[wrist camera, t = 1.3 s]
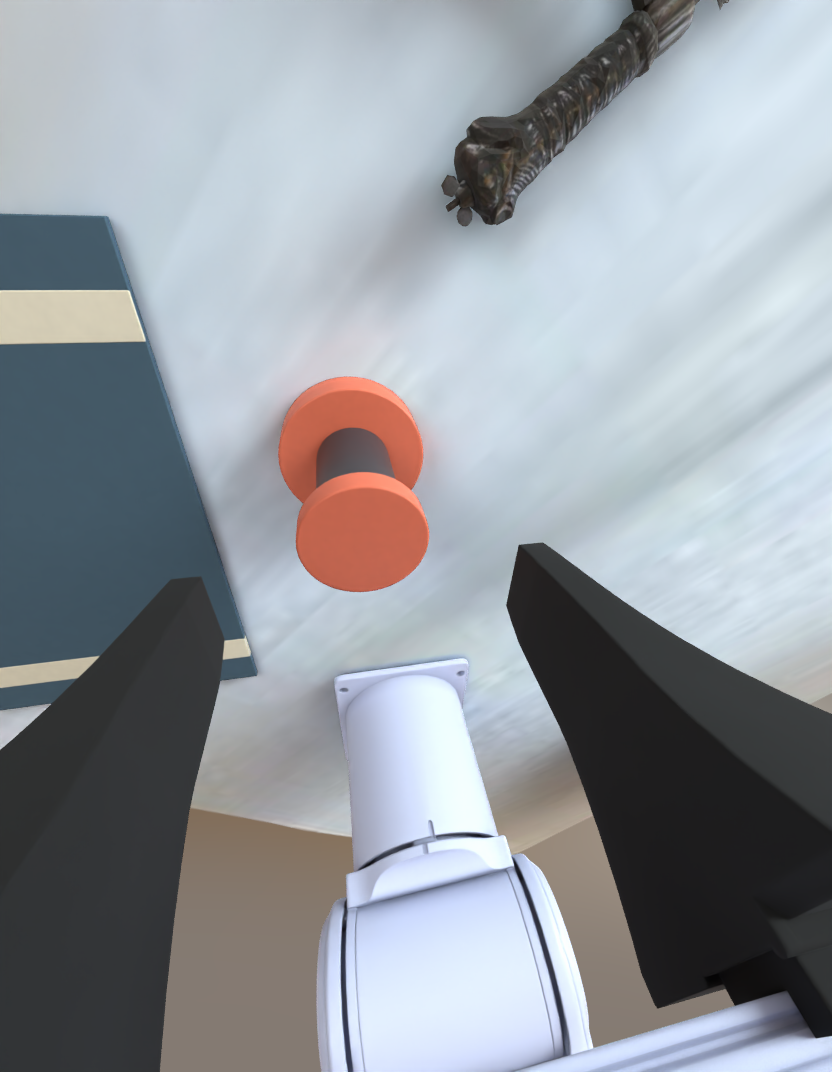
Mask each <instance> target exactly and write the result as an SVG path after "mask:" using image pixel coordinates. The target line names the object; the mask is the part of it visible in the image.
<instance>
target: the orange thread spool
mask: <svg viewBox="0 0 832 1072" xmlns="http://www.w3.org/2000/svg"><path fill="white" fill-rule="evenodd" d="M278 457H279V465H280V469H281V473H282V475H283V478H284V480H285V482H286V484H287V485H288V487H289V489H290V490H291V491H292V493H293V494H294V495H295V496H296V497H297V498H298V499H299V500H300V501H301V502H302V503H304V504H303V505H302V507H301V510H300V512H299V515H298V520H297V531H296V549H297V553H298V556H299V558H300V561H301V563H302V564H303V566H304V567H305V569H306V570H307V571H308V572H309V573H310V574H311V575H312V576H313V577H314V578H316V579H317V580H318V581H320V582H322V583H323V584H325V585H327V586H330V587H332V588H335V589H339V590H343V591H350V592H368V591H374V590H378V589H382V588H385V587H388V586H391V585H393V584H395V583H397V582H399V581H400V580H402V579H404V578H405V577H406V576H408V575H409V574H410V573H411V572H412V571H413V570H414V569H415V568H416V567H417V566H418V565H419V563H420V562H421V560H422V559H423V557H424V555H425V552H426V550H427V546H428V541H429V528H428V523H427V520H426V518H425V515H424V512H423V509H422V506H421V504H420V502H419V500H418V498H417V497H416V496H415V494H414V493H413V492H412V491H411V490H412V488H413V487H414V485H415V483H416V481H417V479H418V477H419V474H420V471H421V467H422V462H423V446H422V440H421V437H420V434H419V431H418V429H417V426H416V424H415V422H414V420H413V418H412V416H411V414H410V412H409V410H408V408H407V407H406V405H405V404H404V403H403V401H402V400H401V399H400V398H399V397H398V396H397V395H396V394H394V393H393V392H392V391H391V390H389V389H388V388H386V387H385V386H383V385H381V384H379V383H377V382H374V381H371V380H368V379H364V378H358V377H338V378H333V379H329V380H325V381H323V382H320V383H318V384H316V385H314V386H312V387H310V388H309V389H308V390H306V391H305V392H304V393H302V394H301V395H300V396H299V397H298V398H297V399H296V400H295V402H294V403H293V404H292V406H291V407H290V409H289V411H288V412H287V414H286V417H285V419H284V422H283V426H282V431H281V437H280V443H279V452H278Z"/></svg>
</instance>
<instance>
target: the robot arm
mask: <svg viewBox="0 0 832 1072" xmlns="http://www.w3.org/2000/svg"><path fill="white" fill-rule="evenodd" d="M506 606H507V609H508V612H509V615H510V618H511V621H512V625H513V627H514V630H515V633H516V636H517V639H518V642H519V644H520V646H521V648H522V650H523V653H524V655H525V657H526V659H527V661H528V663H529V665H530V667H531V669H532V671H533V673H534V675H535V677H536V679H537V681H538V683H539V686H540V688H541V690H542V692H543V694H544V696H545V698H546V700H547V702H548V704H549V706H550V708H551V710H552V712H553V714H554V716H555V718H556V720H557V722H558V724H559V726H560V729H561V731H562V733H563V736H564V738H565V740H566V742H567V745H568V747H569V750H570V753H571V755H572V758H573V761H574V763H575V766H576V769H577V771H578V774H579V777H580V779H581V782H582V785H583V787H584V790H585V793H586V796H587V799H588V802H589V805H590V807H591V810H592V813H593V816H594V818H595V822H596V824H597V827H598V830H599V833H600V836H601V839H602V842H603V845H604V849H605V852H606V855H607V858H608V861H609V864H610V867H611V870H612V874H613V877H614V880H615V883H616V886H617V889H618V893H619V896H620V900H621V903H622V906H623V910H624V913H625V917H626V920H627V923H628V926H629V930H630V933H631V937H632V940H633V944H634V948H635V951H636V955H637V959H638V962H639V966H640V970H641V973H642V976H643V978H644V980H645V983H646V985H647V988H648V990H649V992H650V994H651V997H652V999H653V1002H654V1004H655V1006H656V1007H657V1008H661V1007H665V1006H668V1005H671V1004H675V1003H678V1002H682V1001H685V1000H689V999H692V998H696V997H699V996H702V995H705V994H709V993H713V992H716V991H720V990H723V989H726V990H727V992H728V994H729V996H730V998H731V999H732V1001H733V1003H734V1005H735V1006H733V1007H730V1008H726V1009H723V1010H720V1011H717V1012H713V1013H710V1014H706V1015H703V1016H700V1017H697V1018H693V1019H690V1020H686V1021H683V1022H679V1023H677V1024H673V1025H670V1026H666V1027H663V1028H659V1029H656V1030H653V1031H649V1032H646V1033H643V1034H639V1035H636V1036H633V1037H629V1038H626V1039H623V1040H619V1041H616V1042H612V1043H609V1044H606V1045H602V1046H599V1047H596V1048H593V1045H592V1041H591V1036H590V1032H589V1018H588V1011H587V1004H586V999H585V994H584V990H583V986H582V981H581V977H580V974H579V970H578V966H577V962H576V959H575V956H574V952H573V949H572V946H571V942H570V939H569V936H568V933H567V930H566V927H565V925H564V922H563V919H562V916H561V913H560V911H559V908H558V905H557V903H556V900H555V898H554V896H553V893H552V891H551V889H550V886H549V884H548V882H547V880H546V878H545V876H544V875H543V873H542V871H541V870H540V869H539V868H538V867H537V866H536V865H535V864H534V863H532V862H531V861H530V860H529V859H528V858H527V857H526V856H525V855H524V854H515V855H511V853H510V850H509V846H508V843H507V840H506V837H505V836H504V835H501V836H498V833H497V830H496V826H495V823H494V819H493V816H492V812H491V809H490V805H489V802H488V798H487V795H486V791H485V788H484V784H483V781H482V777H481V774H480V770H479V767H478V764H477V760H476V757H475V753H474V750H473V746H472V743H471V739H470V736H469V732H468V729H467V725H466V722H465V718H464V715H463V711H462V709H463V703H464V696H465V689H466V683H467V676H468V669H469V665H468V662H467V660H466V659H463V658H460V659H452V660H445V661H438V662H431V663H423V664H416V665H409V666H402V667H394V668H387V669H380V670H373V671H366V672H358V673H351V674H344V675H339V676H337V677H336V678H335V679H334V687H335V694H336V700H337V706H338V713H339V719H340V725H341V732H342V738H343V744H344V751H345V757H346V760H347V761H348V766H349V786H350V805H351V824H352V843H353V861H354V872H352V873H348V874H347V875H346V889H347V897H345V898H341V899H338V900H337V901H335V903H334V905H333V907H332V909H331V912H330V914H329V915H328V917H327V919H326V920H325V923H324V925H323V928H322V932H321V937H320V943H319V952H318V966H317V1027H318V1043H319V1056H320V1064H321V1072H832V714H830V713H828V712H825V711H823V710H821V709H819V708H816V707H814V706H812V705H810V704H807V703H805V702H803V701H801V700H799V699H797V698H794V697H792V696H790V695H788V694H786V693H783V692H781V691H779V690H777V689H775V688H773V687H771V686H769V685H767V684H765V683H763V682H761V681H759V680H757V679H755V678H753V677H751V676H749V675H747V674H745V673H743V672H741V671H739V670H737V669H735V668H733V667H731V666H729V665H727V664H725V663H723V662H722V661H720V660H718V659H716V658H714V657H713V656H711V655H709V654H707V653H705V652H704V651H702V650H700V649H698V648H697V647H695V646H693V645H691V644H690V643H688V642H686V641H684V640H683V639H681V638H679V637H678V636H676V635H674V634H673V633H671V632H669V631H668V630H666V629H665V628H663V627H662V626H660V625H658V624H657V623H655V622H654V621H652V620H651V619H649V618H648V617H646V616H645V615H643V614H641V613H640V612H638V611H637V610H635V609H634V608H633V607H631V606H630V605H628V604H627V603H625V602H624V601H622V600H621V599H620V598H618V597H617V596H615V595H614V594H612V593H611V592H610V591H608V590H607V589H605V588H604V587H603V586H601V585H600V584H599V583H597V582H596V581H595V580H593V579H592V578H590V577H589V576H588V575H586V574H585V573H584V572H582V571H581V570H580V569H578V568H577V567H576V566H574V565H573V564H572V563H570V562H569V561H568V560H566V559H565V558H564V557H562V556H561V555H560V554H558V553H557V552H556V551H554V550H553V549H551V548H550V547H548V546H547V545H546V544H544V543H534V544H524V545H519V547H518V552H517V556H516V561H515V566H514V571H513V576H512V580H511V585H510V590H509V595H508V600H507V604H506ZM224 642H225V638H224V636H223V633H222V630H221V628H220V625H219V622H218V620H217V617H216V614H215V612H214V609H213V606H212V604H211V601H210V598H209V596H208V593H207V590H206V588H205V585H204V582H203V580H202V577H201V576H199V577H188V578H178V579H171V580H170V581H169V582H168V583H167V584H166V585H165V586H164V587H163V588H162V589H161V590H160V591H159V592H158V594H157V595H156V596H155V597H154V598H153V599H152V600H151V601H150V602H149V603H148V604H147V606H146V607H145V608H144V609H143V610H142V611H141V612H140V613H139V614H138V616H137V617H136V618H135V619H134V620H133V621H132V622H131V623H130V624H129V625H128V626H127V628H126V629H125V630H124V631H123V632H122V633H121V634H120V635H119V636H118V637H117V638H116V639H115V640H114V641H113V643H112V644H111V645H110V646H109V647H108V648H107V649H106V650H105V651H104V652H103V653H102V654H101V655H100V656H99V657H98V658H97V660H96V661H95V662H94V663H93V664H92V665H91V666H90V667H89V668H88V669H87V670H86V671H85V672H84V673H83V674H81V675H80V676H79V677H78V678H77V679H76V680H75V681H74V682H73V683H72V684H71V685H70V686H69V687H68V688H67V689H66V690H65V691H64V692H63V693H62V694H61V695H60V696H59V697H58V698H57V699H56V700H55V701H54V702H53V703H52V704H51V705H50V706H49V707H48V708H47V709H46V710H45V711H44V712H43V713H41V714H40V715H39V716H38V717H37V718H36V719H35V720H34V721H33V722H32V723H31V724H29V725H28V726H27V727H26V728H25V729H24V730H23V731H22V732H21V733H19V734H18V735H17V736H16V737H15V738H14V739H13V740H11V741H10V742H9V743H8V744H7V745H6V746H4V747H3V748H2V749H1V750H0V1072H160V1060H161V1049H162V1036H163V1025H164V1013H165V1002H166V989H167V981H168V972H169V963H170V953H171V944H172V935H173V926H174V917H175V909H176V902H177V894H178V886H179V879H180V871H181V863H182V857H183V849H184V843H185V837H186V836H185V835H186V830H187V823H188V816H189V810H190V805H191V800H192V796H193V791H194V786H195V782H196V778H197V774H198V770H199V766H200V762H201V758H202V754H203V750H204V746H205V742H206V738H207V734H208V730H209V726H210V722H211V718H212V714H213V710H214V706H215V702H216V697H217V693H218V689H219V685H220V678H221V670H222V662H223V652H224Z"/></svg>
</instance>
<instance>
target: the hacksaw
mask: <svg viewBox="0 0 832 1072" xmlns="http://www.w3.org/2000/svg"><path fill="white" fill-rule="evenodd" d="M631 1H632V5H633V8H634V12H633V13H632V14H631V15H629V16H628V17H627V18H626V19H624V20H623V22H622V24H621V26H620V28H619V30H617V31H616V32H615V33H613V34H612V35H611V36H609V37H608V38H607V39H605V41H604V42H603V43H602V44H600V45H598V46H597V47H595V48H594V49H593V50H592V51H591V52H590V54H589V55H588V56H587V57H585V58H583V59H582V60H580V61H579V62H578V63H577V64H576V65H575V66H574V67H573V68H572V69H570V70H569V71H568V72H567V73H566V74H565V75H563V76H561V77H560V79H559V81H558V82H556V83H555V84H554V85H552V86H551V87H550V88H548V89H546V90H545V91H543V92H542V93H541V94H540V95H539V96H537V97H536V99H535V100H534V101H533V103H532V104H530V105H529V106H528V107H526V108H525V109H524V110H523V111H521V112H520V113H518V114H515V115H512V116H509V117H480V118H478V119H476V120H475V121H473V122H472V123H471V125H470V126H469V127H468V129H467V138H466V139H464V140H463V141H461V142H460V143H459V144H458V146H457V147H456V149H455V157H454V165H455V170H456V174H457V179H458V181H457V180H456V178H455V177H454V176H449V175H447V177H446V178H445V180H444V182H443V183H442V185H441V186H442V189H443V192H444V194H445V195H448V196H450V197H453V196H454V195H455V197H456V198H455V199H454V200H453V201H452V202H450V203H449V204H448V205H446V209H447V211H448V212H449V211H451V210H452V209H454V208H455V207H456V206H458V205H459V206H460V207H461V208H460V209H459V211H458V213H457V220H458V223H459V224H461V225H462V226H467V225H469V223H470V222H471V220H472V211H471V209H470V208H469V207H471V208H472V209H473V210H474V211H476V212H477V213H478V214H479V215H480V216H481V218H482V219H483V221H484V222H485V224H489V225H493V224H496V225H498V224H500V223H502V222H504V221H505V220H507V219H509V218H511V217H512V215H513V212H514V208H515V203H516V200H517V197H518V196H519V194H520V193H521V192H522V191H523V190H524V189H525V188H526V186H527V185H529V184H530V183H531V182H532V181H533V180H534V179H535V178H536V177H537V175H538V174H539V173H540V172H541V171H542V170H543V169H544V168H545V167H546V166H547V165H548V164H549V163H550V162H551V161H552V159H553V158H554V157H555V156H557V155H558V154H560V153H561V152H562V151H564V148H565V146H566V145H567V144H568V143H569V142H570V141H572V140H573V139H574V138H575V137H576V136H577V135H578V133H579V132H580V131H581V130H582V129H583V128H584V127H585V126H586V125H587V124H588V123H589V122H590V121H591V120H592V118H593V117H594V116H595V115H596V114H597V113H598V112H600V111H601V110H602V109H603V108H605V107H606V106H607V105H608V104H609V103H610V102H611V101H612V99H613V98H614V97H616V96H617V95H618V94H619V93H620V92H621V91H622V90H623V89H624V88H626V87H627V86H628V85H629V84H630V83H631V81H632V80H633V79H634V78H636V77H640V76H641V75H643V74H644V73H645V72H647V71H648V70H649V68H650V66H651V64H652V63H653V61H654V59H655V58H657V57H658V56H660V55H661V54H663V53H664V52H665V51H666V50H667V49H668V48H669V47H671V46H672V45H673V44H674V43H675V42H676V41H677V40H678V39H679V38H680V37H681V36H682V35H683V34H684V33H685V31H686V30H687V29H688V27H689V26H690V24H691V21H692V17H693V13H694V9H695V4H696V3H697V2H699V1H700V0H631ZM717 1H718V5H719V8H720V9H721V7H722V5H723V4H724V3H728V1H729V0H717Z"/></svg>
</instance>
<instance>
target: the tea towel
mask: <svg viewBox="0 0 832 1072" xmlns="http://www.w3.org/2000/svg"><path fill="white" fill-rule="evenodd" d="M199 576H201V577H202V580H203V582H204V585H205V588H206V590H207V593H208V596H209V598H210V601H211V604H212V606H213V609H214V612H215V614H216V617H217V620H218V622H219V625H220V628H221V630H222V633H223V636H224V638H225V642H224V652H223V662H222V670H221V678H220V681H222V680H229V679H237V678H244V677H251V676H257V669H256V666H255V663H254V660H253V657H252V654H251V651H250V648H249V645H248V642H247V639H246V636H245V633H244V630H243V626H242V623H241V620H240V617H239V614H238V611H237V608H236V605H235V602H234V599H233V596H232V593H231V590H230V587H229V584H228V581H227V578H226V575H225V572H224V568H223V565H222V562H221V559H220V556H219V553H218V550H217V547H216V544H215V541H214V538H213V535H212V532H211V529H210V526H209V523H208V520H207V517H206V514H205V511H204V507H203V504H202V501H201V498H200V495H199V492H198V489H197V486H196V483H195V480H194V477H193V474H192V471H191V468H190V465H189V462H188V459H187V456H186V453H185V449H184V446H183V443H182V440H181V437H180V434H179V431H178V428H177V425H176V422H175V419H174V416H173V413H172V410H171V407H170V404H169V401H168V398H167V395H166V392H165V388H164V385H163V382H162V379H161V376H160V373H159V370H158V367H157V364H156V361H155V358H154V355H153V352H152V349H151V346H150V343H149V340H148V337H147V334H146V330H145V327H144V324H143V321H142V318H141V315H140V312H139V309H138V306H137V303H136V300H135V297H134V294H133V291H132V288H131V285H130V282H129V279H128V276H127V273H126V269H125V266H124V263H123V260H122V257H121V254H120V251H119V248H118V245H117V242H116V239H115V236H114V233H113V230H112V227H111V224H110V221H109V218H108V217H107V216H76V215H32V214H0V710H6V709H14V708H21V707H28V706H36V705H43V704H51V703H53V702H54V701H55V700H56V699H57V698H58V697H59V696H60V695H61V694H62V693H63V692H64V691H65V690H66V689H67V688H68V687H69V686H70V685H71V684H72V683H73V682H74V681H75V680H76V679H77V678H78V677H79V676H80V675H81V674H83V673H84V672H85V671H86V670H87V669H88V668H89V667H90V666H91V665H92V664H93V663H94V662H95V661H96V660H97V658H98V657H99V656H100V655H101V654H102V653H103V652H104V651H105V650H106V649H107V648H108V647H109V646H110V645H111V644H112V643H113V641H114V640H115V639H116V638H117V637H118V636H119V635H120V634H121V633H122V632H123V631H124V630H125V629H126V628H127V626H128V625H129V624H130V623H131V622H132V621H133V620H134V619H135V618H136V617H137V616H138V614H139V613H140V612H141V611H142V610H143V609H144V608H145V607H146V606H147V604H148V603H149V602H150V601H151V600H152V599H153V598H154V597H155V596H156V595H157V594H158V592H159V591H160V590H161V589H162V588H163V587H164V586H165V585H166V584H167V583H168V582H169V581H170V580H171V579H178V578H188V577H199Z"/></svg>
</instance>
